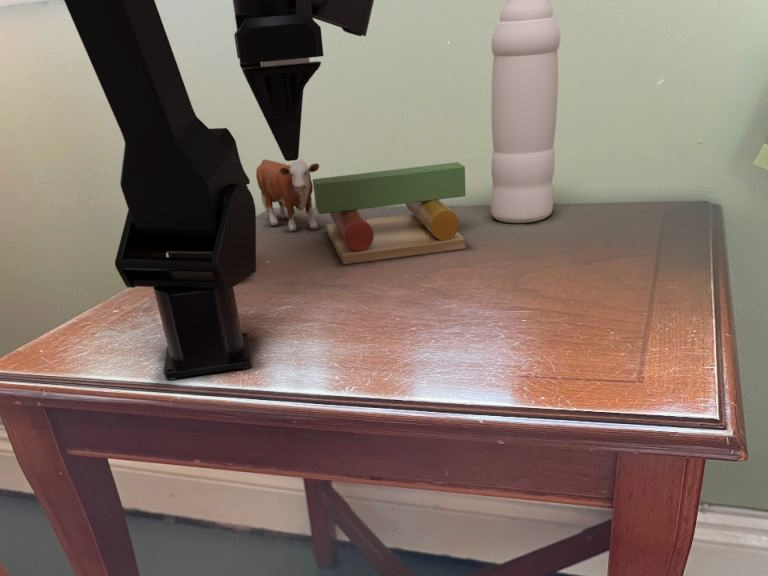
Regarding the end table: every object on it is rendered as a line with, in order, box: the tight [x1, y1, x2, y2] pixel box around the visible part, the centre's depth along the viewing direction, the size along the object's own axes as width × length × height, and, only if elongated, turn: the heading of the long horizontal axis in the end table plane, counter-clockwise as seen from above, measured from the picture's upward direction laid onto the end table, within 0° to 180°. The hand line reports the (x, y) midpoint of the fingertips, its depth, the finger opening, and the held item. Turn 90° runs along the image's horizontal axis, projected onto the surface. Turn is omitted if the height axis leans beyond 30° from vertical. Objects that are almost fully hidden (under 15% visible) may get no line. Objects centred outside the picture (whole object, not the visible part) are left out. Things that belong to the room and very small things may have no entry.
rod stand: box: [326, 199, 466, 265], centre depth 84 cm, size 14×13×4 cm
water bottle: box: [490, 0, 561, 224], centre depth 82 cm, size 7×7×25 cm
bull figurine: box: [255, 158, 320, 232], centre depth 91 cm, size 4×13×8 cm, turn 29°
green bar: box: [312, 161, 466, 215], centre depth 82 cm, size 3×16×3 cm, turn 100°
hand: (288, 153), depth 68 cm, fingers open, 9 cm apart
